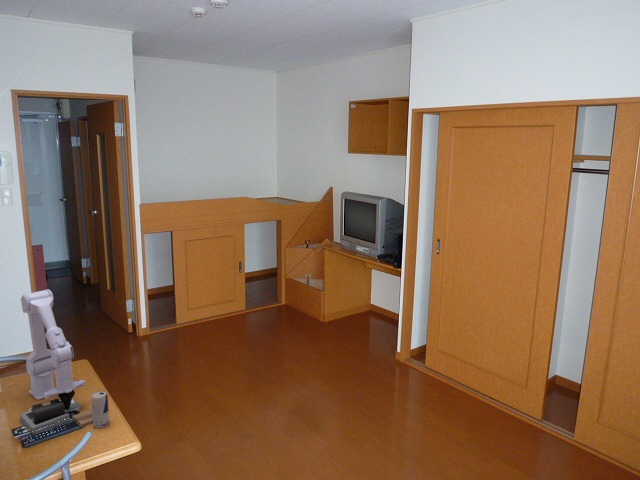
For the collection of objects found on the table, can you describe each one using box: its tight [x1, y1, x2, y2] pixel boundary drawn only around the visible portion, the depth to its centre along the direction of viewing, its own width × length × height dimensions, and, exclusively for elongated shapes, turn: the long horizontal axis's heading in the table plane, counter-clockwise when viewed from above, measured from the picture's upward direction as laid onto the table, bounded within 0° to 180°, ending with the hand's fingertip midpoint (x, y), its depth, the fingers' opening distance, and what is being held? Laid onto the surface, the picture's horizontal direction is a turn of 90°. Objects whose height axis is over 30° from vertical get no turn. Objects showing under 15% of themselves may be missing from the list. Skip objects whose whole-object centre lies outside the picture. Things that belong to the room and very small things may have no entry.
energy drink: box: [91, 390, 110, 429], centre depth 181 cm, size 5×5×12 cm
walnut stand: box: [71, 408, 93, 428], centre depth 185 cm, size 8×8×1 cm
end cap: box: [31, 397, 66, 425], centre depth 183 cm, size 10×7×7 cm
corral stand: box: [19, 409, 71, 435], centre depth 183 cm, size 13×12×2 cm
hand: (66, 408), depth 189 cm, fingers closed
